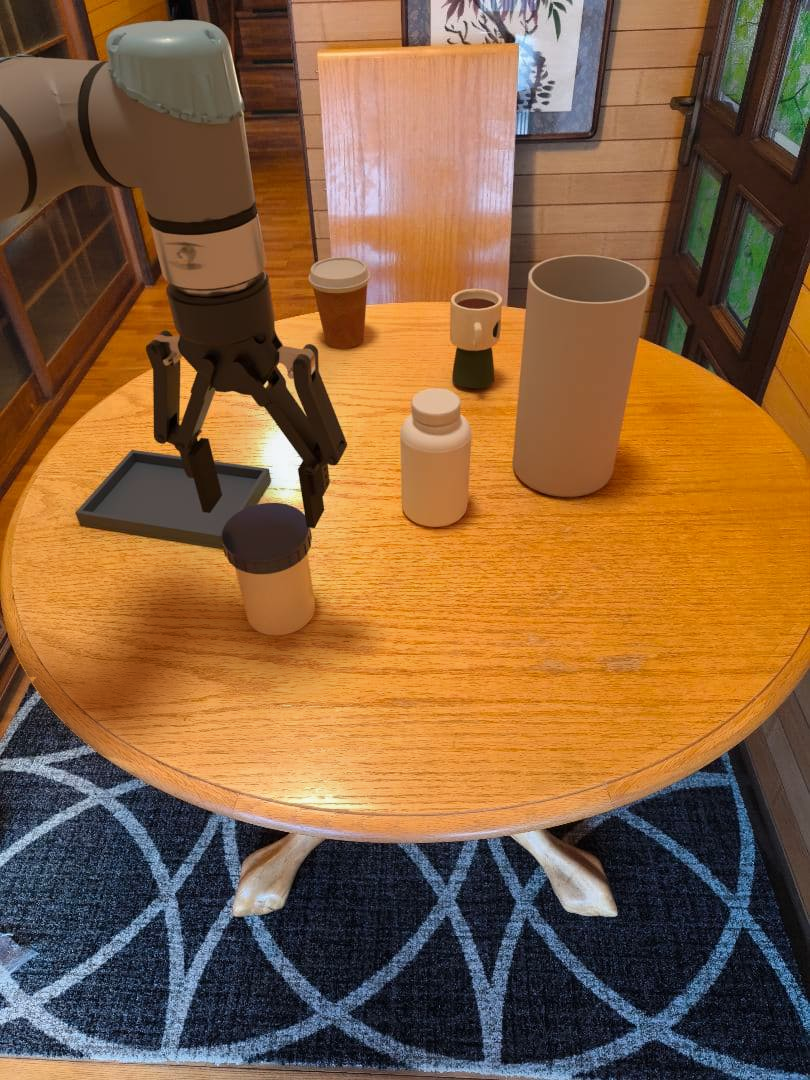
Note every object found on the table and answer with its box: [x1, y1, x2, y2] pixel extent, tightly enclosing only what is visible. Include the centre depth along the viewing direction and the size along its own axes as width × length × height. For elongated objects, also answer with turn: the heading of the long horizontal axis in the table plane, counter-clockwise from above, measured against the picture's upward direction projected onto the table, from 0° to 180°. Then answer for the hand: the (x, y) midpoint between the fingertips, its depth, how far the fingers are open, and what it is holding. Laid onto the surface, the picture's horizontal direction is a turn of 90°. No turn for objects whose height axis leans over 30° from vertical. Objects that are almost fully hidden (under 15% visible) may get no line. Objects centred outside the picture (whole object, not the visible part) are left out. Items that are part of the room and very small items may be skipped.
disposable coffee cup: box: [307, 256, 371, 350], centre depth 121 cm, size 10×10×12 cm
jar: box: [234, 552, 316, 636], centre depth 76 cm, size 7×7×11 cm
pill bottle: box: [399, 387, 472, 528], centre depth 87 cm, size 8×8×15 cm
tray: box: [74, 449, 272, 550], centre depth 93 cm, size 19×13×2 cm
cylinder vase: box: [512, 254, 651, 498], centre depth 89 cm, size 12×12×25 cm
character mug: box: [449, 288, 503, 389], centre depth 109 cm, size 11×7×13 cm, turn 0°
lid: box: [222, 502, 313, 574], centre depth 73 cm, size 8×8×2 cm
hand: (263, 510), depth 71 cm, fingers open, 10 cm apart
